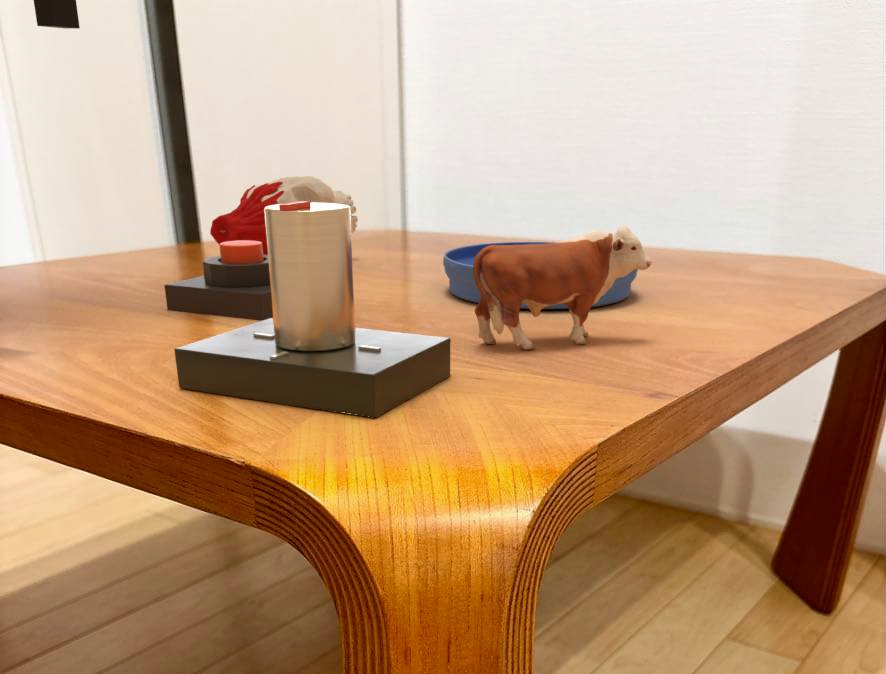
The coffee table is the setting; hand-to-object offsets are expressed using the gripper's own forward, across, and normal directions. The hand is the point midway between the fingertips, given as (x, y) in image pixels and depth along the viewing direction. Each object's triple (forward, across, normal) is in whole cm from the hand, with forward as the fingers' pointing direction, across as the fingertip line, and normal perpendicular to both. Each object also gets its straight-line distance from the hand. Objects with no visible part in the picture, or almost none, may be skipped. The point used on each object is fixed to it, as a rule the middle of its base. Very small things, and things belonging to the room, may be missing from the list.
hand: (58, 26), depth 68 cm
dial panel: (+21, +28, -11) cm, 37 cm away
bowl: (+21, +31, +24) cm, 44 cm away
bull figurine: (+21, +39, +6) cm, 44 cm away
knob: (+18, +28, -11) cm, 35 cm away
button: (+17, +10, +7) cm, 21 cm away
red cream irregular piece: (+22, -2, +32) cm, 38 cm away
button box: (+21, +10, +7) cm, 24 cm away
